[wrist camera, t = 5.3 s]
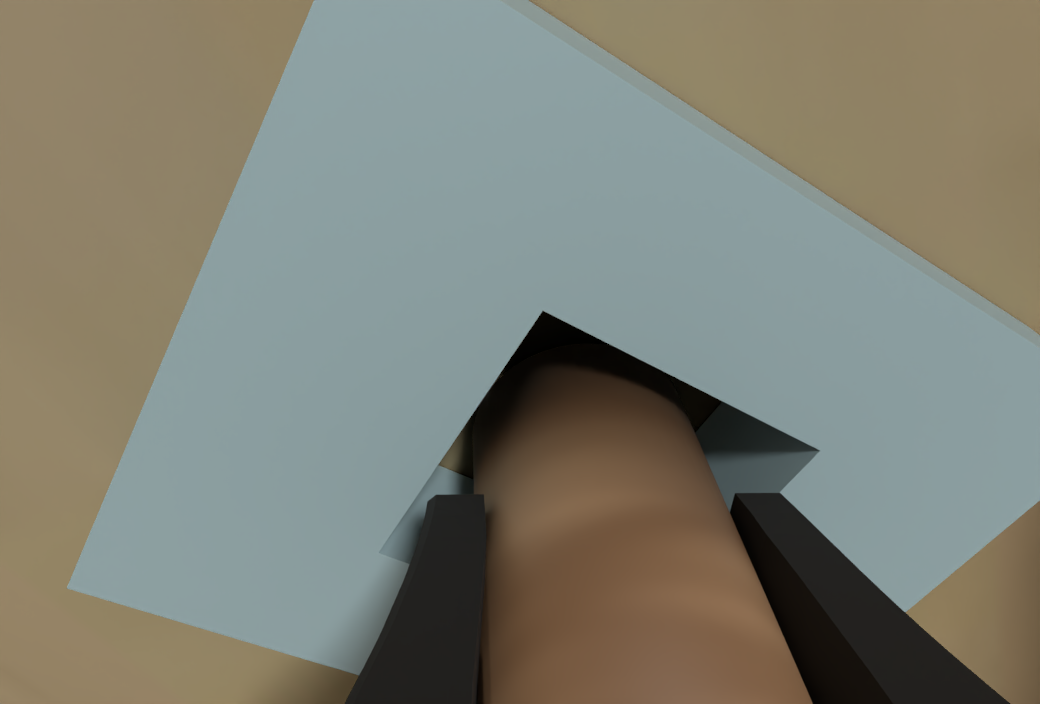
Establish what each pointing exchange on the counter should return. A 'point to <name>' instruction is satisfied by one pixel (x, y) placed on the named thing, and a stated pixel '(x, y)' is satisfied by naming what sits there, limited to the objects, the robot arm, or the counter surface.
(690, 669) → the peg
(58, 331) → the counter surface
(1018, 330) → the board
